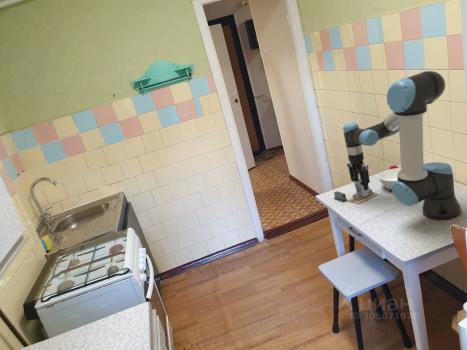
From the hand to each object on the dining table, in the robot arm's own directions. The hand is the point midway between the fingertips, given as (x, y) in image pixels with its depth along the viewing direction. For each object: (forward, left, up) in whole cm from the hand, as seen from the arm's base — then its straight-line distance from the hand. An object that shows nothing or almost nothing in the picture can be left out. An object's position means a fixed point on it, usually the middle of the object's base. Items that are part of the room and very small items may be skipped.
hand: (362, 194), depth 199 cm
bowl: (-5, -20, -2) cm, 21 cm away
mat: (0, 0, -2) cm, 2 cm away
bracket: (+7, -29, -2) cm, 30 cm away
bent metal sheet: (0, 0, -1) cm, 1 cm away
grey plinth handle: (+9, 0, -2) cm, 9 cm away
